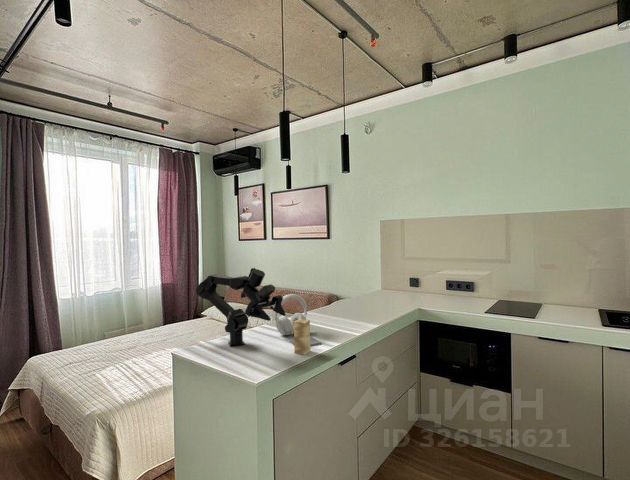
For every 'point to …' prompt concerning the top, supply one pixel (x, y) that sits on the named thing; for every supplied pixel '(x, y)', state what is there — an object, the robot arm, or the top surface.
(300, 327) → the oak block
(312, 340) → the rubber mat
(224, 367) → the top surface
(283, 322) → the headphones
